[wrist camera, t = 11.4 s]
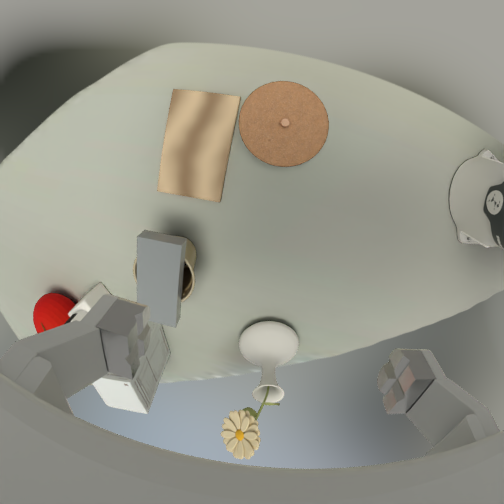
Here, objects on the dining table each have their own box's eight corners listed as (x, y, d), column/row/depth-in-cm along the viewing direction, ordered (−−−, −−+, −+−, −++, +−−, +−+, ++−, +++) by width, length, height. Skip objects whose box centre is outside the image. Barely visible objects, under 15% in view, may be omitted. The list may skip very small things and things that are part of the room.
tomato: (43, 303, 54) (19, 326, 44) (58, 274, 50) (30, 298, 40) (83, 343, 57) (64, 370, 48) (103, 319, 54) (81, 350, 44)
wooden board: (240, 97, 36) (240, 96, 35) (220, 200, 42) (219, 202, 41) (175, 90, 36) (173, 89, 35) (159, 189, 42) (157, 191, 41)
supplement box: (121, 317, 53) (84, 373, 37) (160, 318, 52) (129, 381, 37) (134, 351, 57) (106, 407, 41) (171, 354, 56) (148, 415, 40)
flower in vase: (281, 306, 49) (287, 428, 26) (307, 346, 53) (322, 458, 30) (220, 333, 52) (196, 446, 30) (251, 368, 56) (242, 474, 33)
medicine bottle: (105, 320, 54) (79, 356, 43) (84, 295, 51) (54, 328, 40) (123, 308, 52) (97, 345, 41) (101, 281, 50) (69, 315, 39)
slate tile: (187, 238, 36) (181, 245, 33) (180, 317, 41) (175, 327, 39) (144, 229, 36) (137, 236, 33) (143, 308, 41) (137, 317, 38)
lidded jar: (228, 122, 38) (217, 118, 29) (284, 77, 34) (289, 60, 26) (277, 175, 40) (279, 187, 32) (332, 131, 37) (350, 131, 29)
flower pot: (216, 244, 45) (206, 269, 37) (191, 286, 49) (178, 315, 41) (167, 215, 44) (146, 233, 36) (146, 259, 47) (125, 283, 39)
